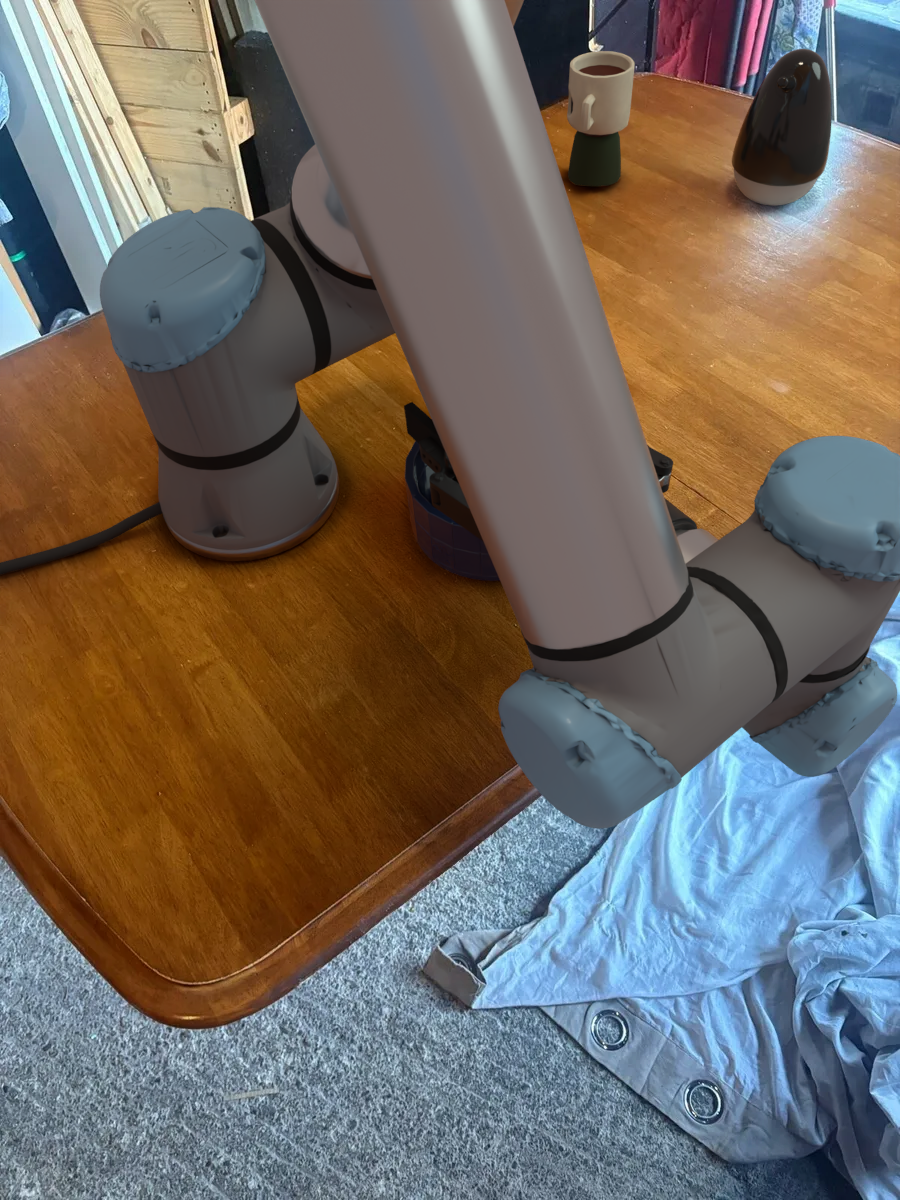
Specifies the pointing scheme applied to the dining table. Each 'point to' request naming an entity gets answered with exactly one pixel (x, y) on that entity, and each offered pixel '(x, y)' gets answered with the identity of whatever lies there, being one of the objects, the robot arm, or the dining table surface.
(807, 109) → the dark brown egg shape
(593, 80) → the character mug
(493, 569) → the pot
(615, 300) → the dining table surface
